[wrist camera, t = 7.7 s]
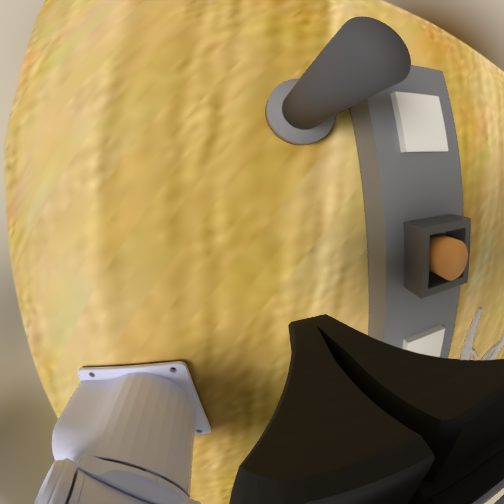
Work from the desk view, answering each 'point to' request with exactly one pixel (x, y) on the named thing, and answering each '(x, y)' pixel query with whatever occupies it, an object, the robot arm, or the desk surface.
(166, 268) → the desk surface
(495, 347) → the pliers
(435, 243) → the breaker button
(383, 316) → the power strip
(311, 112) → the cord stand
